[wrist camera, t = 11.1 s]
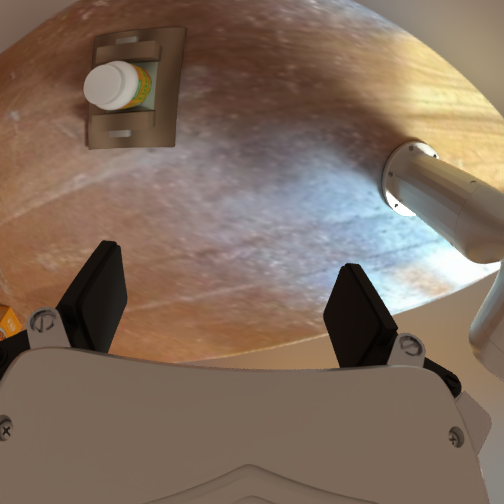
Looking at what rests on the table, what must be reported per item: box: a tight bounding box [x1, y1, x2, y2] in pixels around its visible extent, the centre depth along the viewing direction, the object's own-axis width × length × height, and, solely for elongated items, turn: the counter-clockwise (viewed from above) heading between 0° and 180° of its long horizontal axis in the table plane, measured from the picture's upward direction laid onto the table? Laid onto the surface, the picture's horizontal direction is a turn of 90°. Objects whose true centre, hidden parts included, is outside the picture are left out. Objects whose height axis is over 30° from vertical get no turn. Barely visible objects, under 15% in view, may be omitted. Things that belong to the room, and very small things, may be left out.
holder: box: [88, 27, 186, 150], centre depth 25 cm, size 12×16×5 cm
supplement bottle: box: [83, 61, 153, 110], centre depth 22 cm, size 5×5×10 cm
